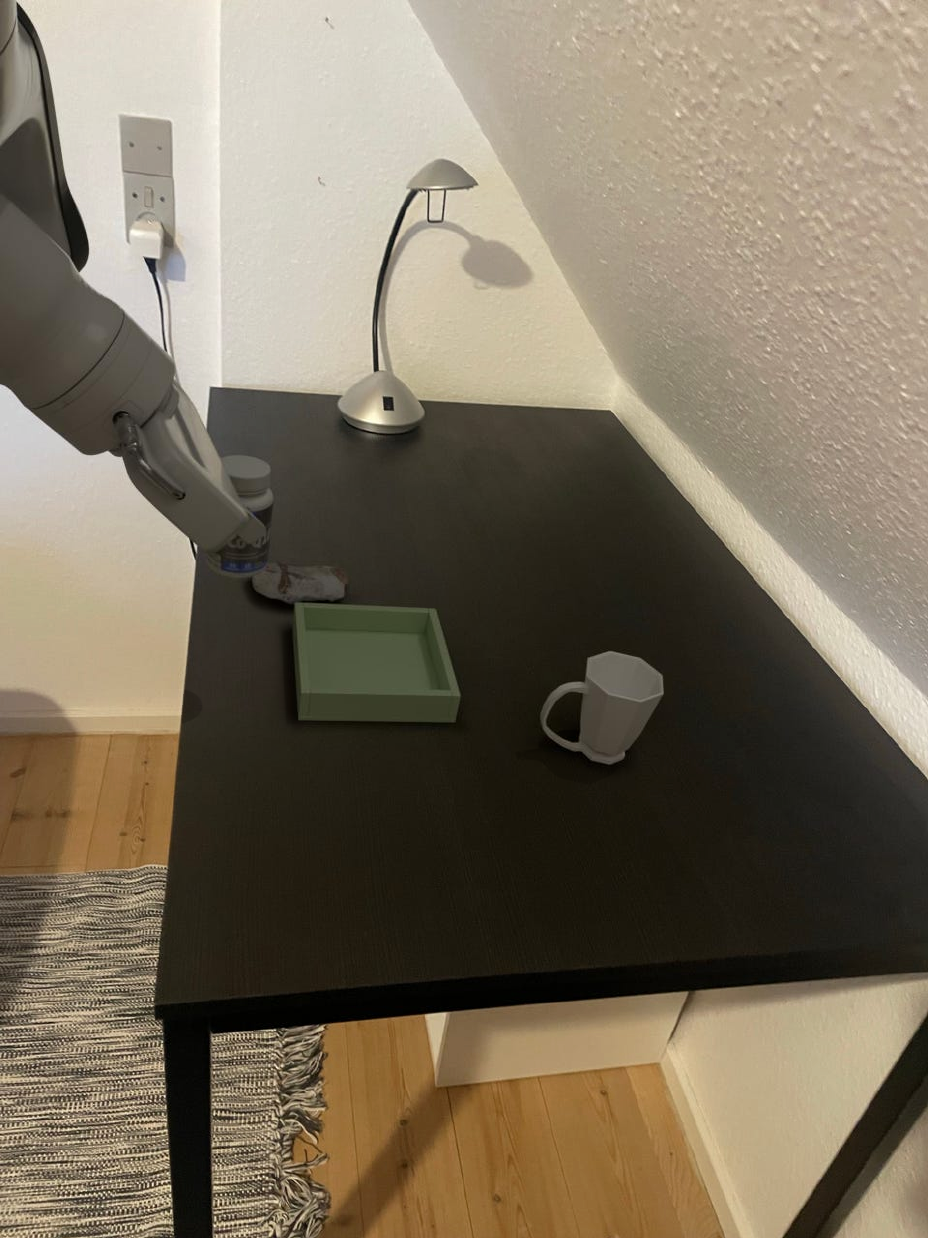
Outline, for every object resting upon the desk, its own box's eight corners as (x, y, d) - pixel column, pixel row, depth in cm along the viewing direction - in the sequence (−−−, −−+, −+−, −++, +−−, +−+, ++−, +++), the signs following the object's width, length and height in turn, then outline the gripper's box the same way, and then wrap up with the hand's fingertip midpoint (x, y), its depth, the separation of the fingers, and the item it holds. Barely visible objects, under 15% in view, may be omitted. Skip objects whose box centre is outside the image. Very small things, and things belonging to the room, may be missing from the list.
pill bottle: (226, 585, 71) (231, 484, 66) (194, 556, 74) (197, 457, 69) (279, 571, 74) (288, 473, 69) (247, 543, 77) (253, 447, 72)
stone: (255, 614, 91) (257, 591, 90) (245, 574, 97) (246, 551, 95) (352, 611, 94) (355, 589, 93) (337, 572, 100) (339, 551, 99)
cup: (652, 773, 82) (680, 700, 77) (544, 778, 79) (567, 702, 74) (622, 720, 87) (646, 650, 83) (520, 723, 84) (540, 650, 80)
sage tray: (298, 720, 79) (301, 692, 78) (292, 628, 90) (294, 601, 89) (455, 722, 83) (461, 696, 81) (431, 633, 94) (435, 608, 92)
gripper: (170, 420, 54) (317, 556, 64) (122, 307, 69) (247, 431, 79) (90, 491, 55) (248, 616, 64) (59, 364, 70) (191, 480, 79)
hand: (247, 513), depth 72 cm, fingers closed on pill bottle, 5 cm apart
